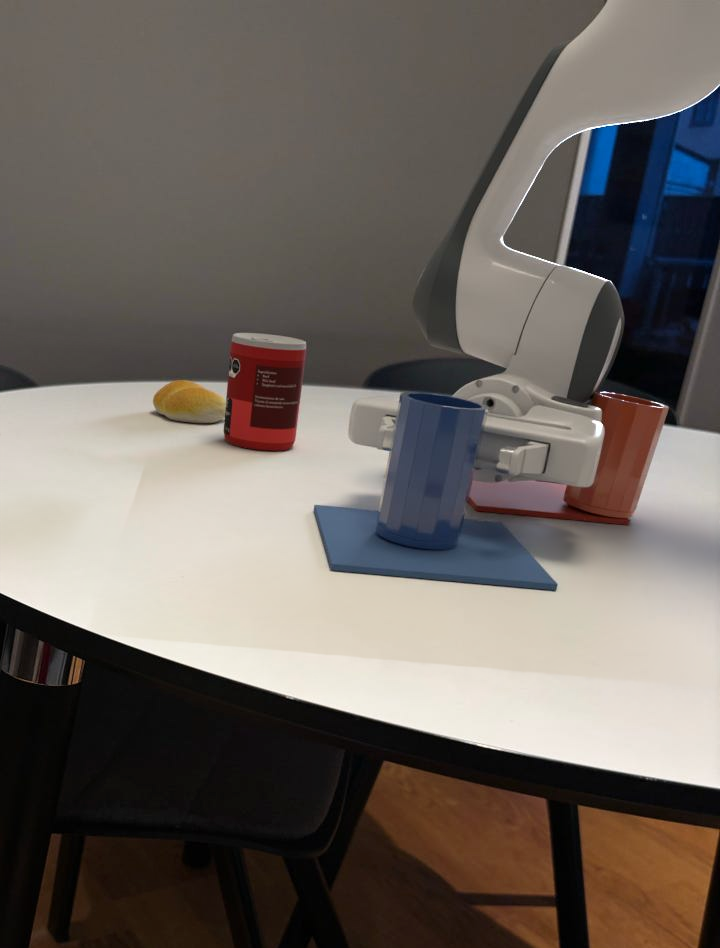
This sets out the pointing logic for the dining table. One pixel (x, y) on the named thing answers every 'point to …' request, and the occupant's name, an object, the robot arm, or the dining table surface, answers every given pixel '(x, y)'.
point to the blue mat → (429, 552)
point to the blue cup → (430, 470)
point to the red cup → (621, 455)
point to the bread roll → (189, 403)
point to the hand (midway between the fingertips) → (444, 451)
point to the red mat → (530, 501)
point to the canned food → (264, 391)
